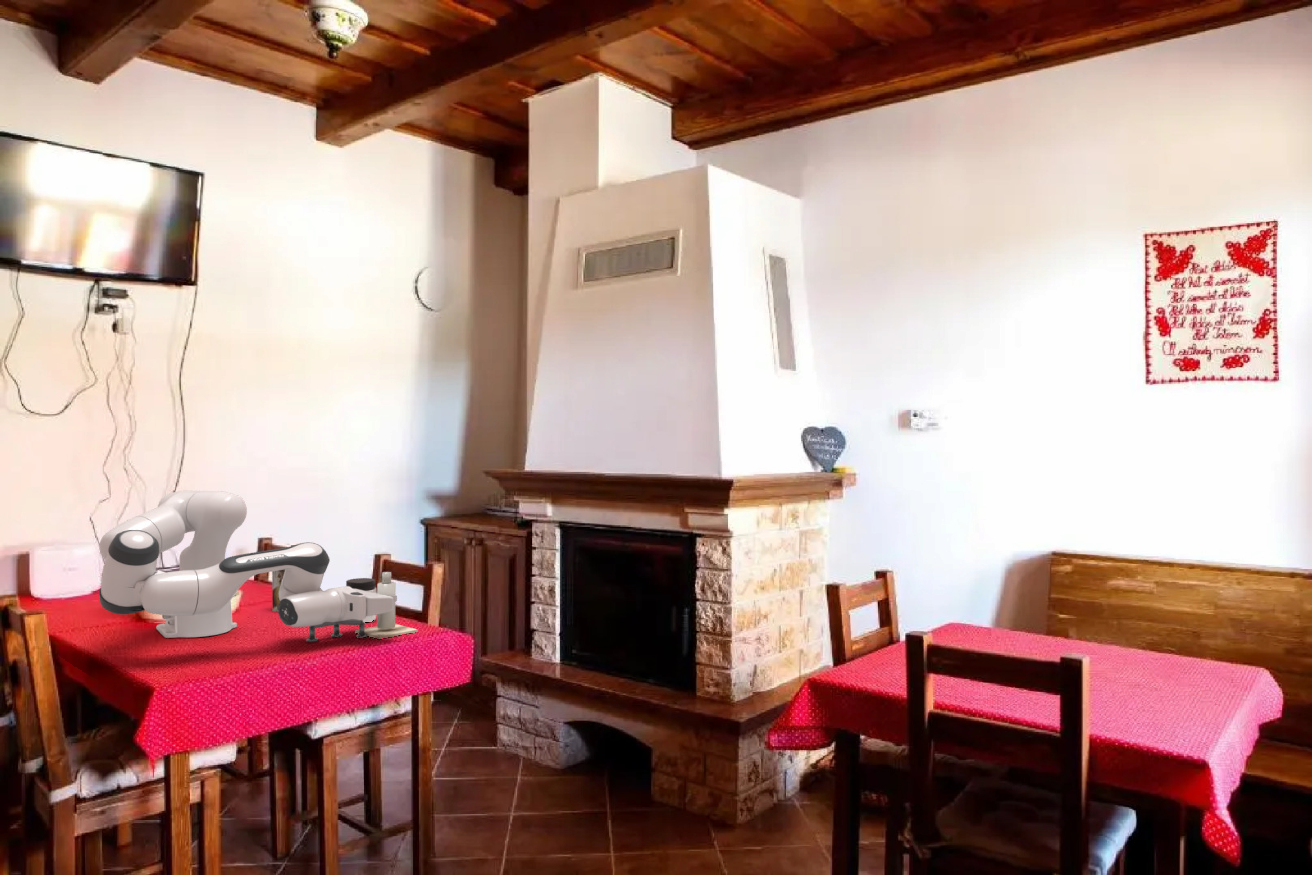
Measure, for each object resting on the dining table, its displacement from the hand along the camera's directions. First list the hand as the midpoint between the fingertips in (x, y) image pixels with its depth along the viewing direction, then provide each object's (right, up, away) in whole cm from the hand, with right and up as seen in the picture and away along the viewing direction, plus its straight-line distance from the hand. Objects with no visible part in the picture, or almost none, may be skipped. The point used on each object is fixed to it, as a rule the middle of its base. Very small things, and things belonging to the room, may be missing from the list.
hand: (389, 596), depth 246 cm
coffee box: (-39, -10, +30) cm, 50 cm away
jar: (-13, -10, +15) cm, 22 cm away
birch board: (-1, -10, -1) cm, 10 cm away
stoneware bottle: (-1, -8, -1) cm, 8 cm away
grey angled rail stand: (-11, -10, -8) cm, 17 cm away
